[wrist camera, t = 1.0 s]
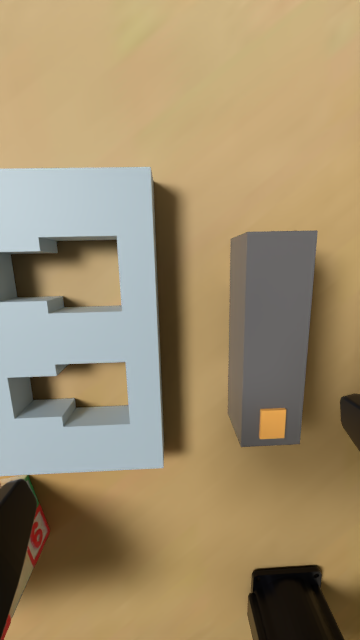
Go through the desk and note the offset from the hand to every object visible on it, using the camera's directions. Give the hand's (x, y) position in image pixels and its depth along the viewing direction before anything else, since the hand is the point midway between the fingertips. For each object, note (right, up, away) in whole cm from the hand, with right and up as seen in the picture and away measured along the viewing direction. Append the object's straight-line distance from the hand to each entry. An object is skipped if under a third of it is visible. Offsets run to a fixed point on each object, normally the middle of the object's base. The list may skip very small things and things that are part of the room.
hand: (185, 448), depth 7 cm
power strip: (+5, +3, +12) cm, 14 cm away
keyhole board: (-8, +3, +12) cm, 14 cm away
